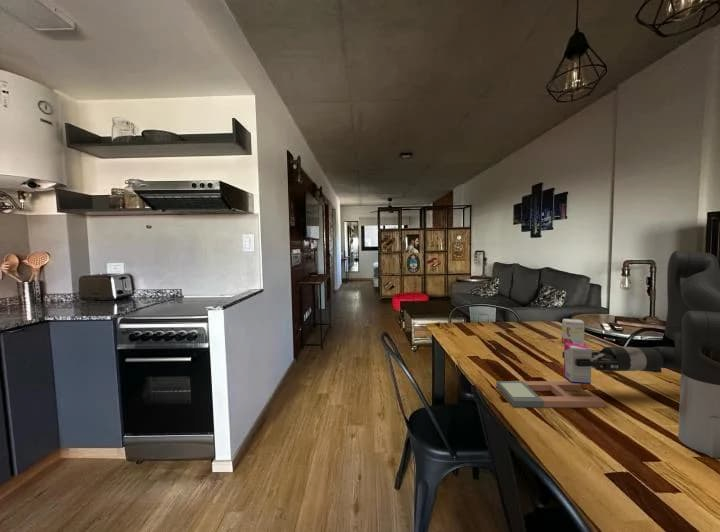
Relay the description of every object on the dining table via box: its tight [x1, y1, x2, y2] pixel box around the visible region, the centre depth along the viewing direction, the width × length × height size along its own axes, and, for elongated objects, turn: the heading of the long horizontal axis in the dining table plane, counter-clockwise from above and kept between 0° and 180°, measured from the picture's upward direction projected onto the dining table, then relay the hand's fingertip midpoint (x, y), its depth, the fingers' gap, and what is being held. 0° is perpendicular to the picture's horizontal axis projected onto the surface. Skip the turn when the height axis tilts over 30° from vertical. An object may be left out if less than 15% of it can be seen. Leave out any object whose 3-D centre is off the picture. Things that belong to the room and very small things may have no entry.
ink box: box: [561, 318, 585, 345], centre depth 154 cm, size 9×5×12 cm, turn 67°
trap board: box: [496, 380, 606, 409], centre depth 103 cm, size 14×27×2 cm, turn 87°
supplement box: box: [563, 343, 593, 385], centre depth 101 cm, size 6×6×12 cm
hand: (569, 358), depth 101 cm, fingers closed on supplement box, 6 cm apart
